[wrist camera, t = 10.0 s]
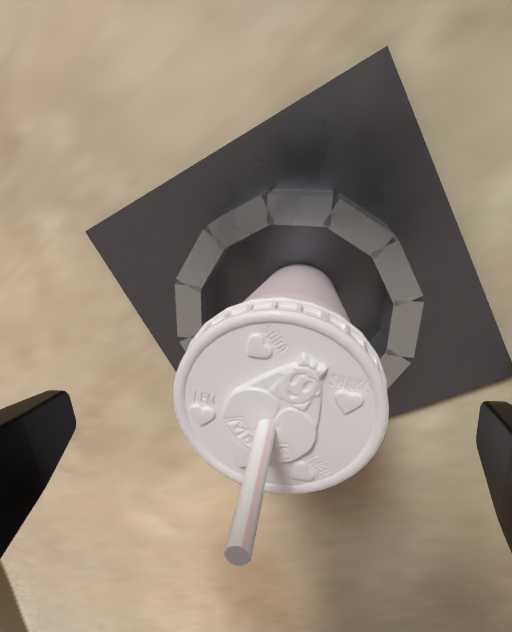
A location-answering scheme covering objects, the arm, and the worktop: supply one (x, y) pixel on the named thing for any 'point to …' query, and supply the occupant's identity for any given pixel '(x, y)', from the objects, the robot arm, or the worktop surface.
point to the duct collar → (319, 236)
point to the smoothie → (281, 395)
